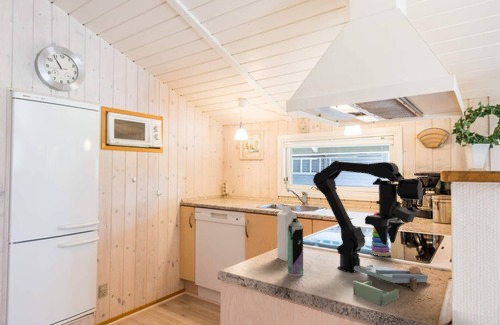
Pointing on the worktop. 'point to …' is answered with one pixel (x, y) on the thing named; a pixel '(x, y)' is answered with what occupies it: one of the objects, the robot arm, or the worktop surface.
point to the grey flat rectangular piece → (391, 274)
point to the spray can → (295, 248)
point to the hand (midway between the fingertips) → (388, 243)
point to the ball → (414, 270)
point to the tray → (374, 293)
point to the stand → (411, 287)
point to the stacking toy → (379, 244)
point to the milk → (283, 231)
